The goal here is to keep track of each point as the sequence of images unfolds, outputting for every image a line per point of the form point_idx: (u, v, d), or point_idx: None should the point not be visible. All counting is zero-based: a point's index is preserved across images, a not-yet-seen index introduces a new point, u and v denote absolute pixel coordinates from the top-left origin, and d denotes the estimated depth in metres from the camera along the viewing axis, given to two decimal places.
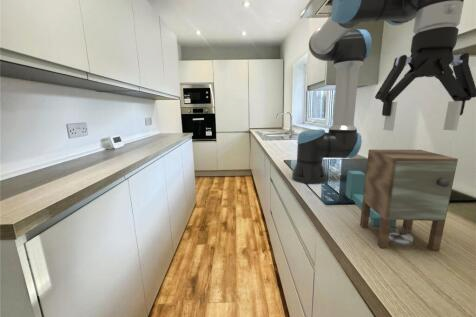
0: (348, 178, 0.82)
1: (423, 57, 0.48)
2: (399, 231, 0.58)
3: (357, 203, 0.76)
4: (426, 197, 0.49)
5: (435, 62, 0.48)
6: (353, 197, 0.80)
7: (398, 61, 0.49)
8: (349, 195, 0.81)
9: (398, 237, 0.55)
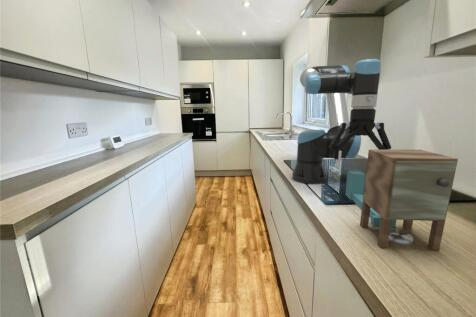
0: (348, 178, 0.82)
1: (356, 124, 0.76)
2: (399, 231, 0.58)
3: (357, 203, 0.76)
4: (426, 197, 0.49)
5: (363, 127, 0.76)
6: (353, 197, 0.80)
7: (341, 125, 0.77)
8: (349, 195, 0.81)
9: (398, 237, 0.55)
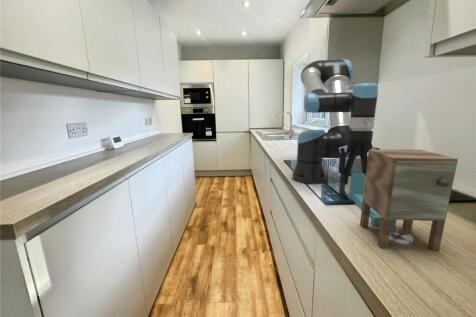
0: None
1: (353, 144, 0.78)
2: (399, 231, 0.58)
3: (357, 203, 0.76)
4: (426, 197, 0.49)
5: (361, 147, 0.78)
6: (353, 197, 0.80)
7: (340, 151, 0.79)
8: (349, 195, 0.81)
9: (398, 237, 0.55)
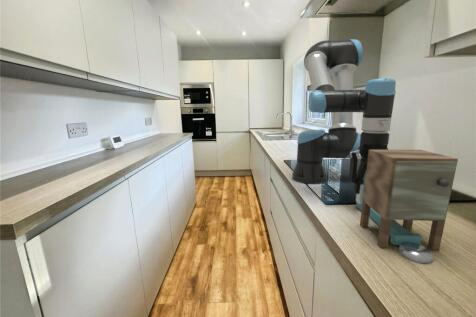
0: None
1: (366, 148, 0.68)
2: (417, 245, 0.51)
3: (371, 215, 0.67)
4: (426, 197, 0.49)
5: None
6: None
7: (351, 156, 0.70)
8: (361, 206, 0.72)
9: (416, 253, 0.49)
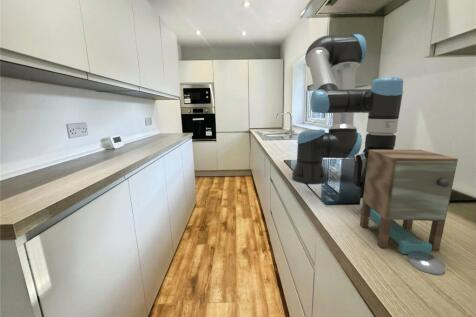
0: None
1: None
2: (427, 255, 0.48)
3: (377, 221, 0.64)
4: (426, 197, 0.49)
5: None
6: (371, 213, 0.67)
7: (356, 159, 0.67)
8: None
9: (427, 263, 0.46)
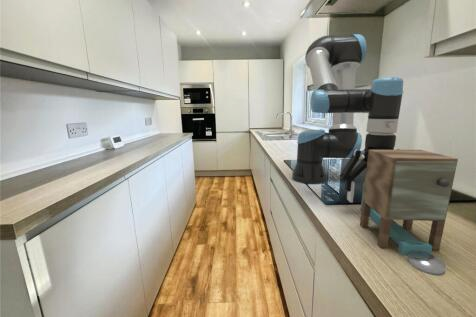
0: None
1: None
2: (427, 255, 0.48)
3: (377, 222, 0.64)
4: (426, 197, 0.49)
5: None
6: (371, 214, 0.67)
7: (355, 153, 0.66)
8: None
9: (427, 263, 0.46)
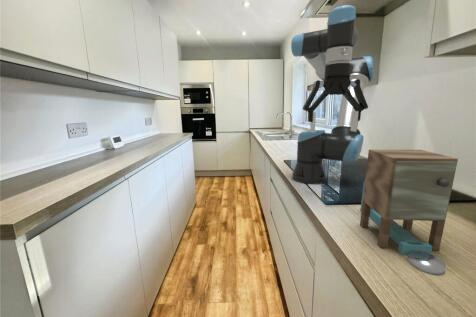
0: None
1: (330, 82, 0.70)
2: (426, 255, 0.48)
3: (377, 222, 0.64)
4: (426, 197, 0.49)
5: (339, 85, 0.70)
6: (371, 213, 0.67)
7: (315, 84, 0.71)
8: None
9: (427, 263, 0.46)
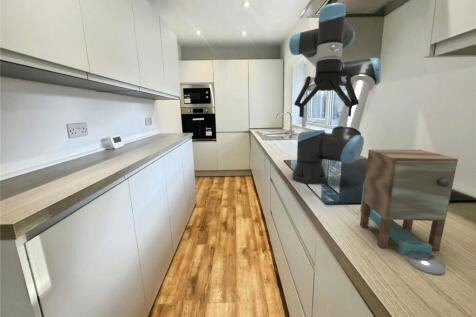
0: None
1: (321, 77, 0.71)
2: (426, 254, 0.48)
3: (377, 222, 0.64)
4: (426, 197, 0.49)
5: (329, 81, 0.71)
6: (371, 214, 0.67)
7: (306, 80, 0.72)
8: None
9: (428, 263, 0.46)
